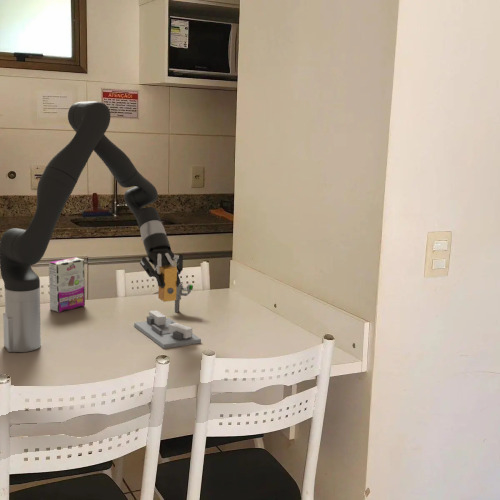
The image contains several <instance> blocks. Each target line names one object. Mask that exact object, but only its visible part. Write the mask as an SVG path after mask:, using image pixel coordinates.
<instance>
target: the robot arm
mask: <svg viewBox="0 0 500 500" xmlns="http://www.w3.org/2000/svg"><path fill="white" fill-rule="evenodd" d="M67 111H68V112H67V121H68V123H69V125H70V126H71V128H72V130H74V132H75V134H74V136H73V138H71V140H70V141H69V143H67V144H66V145H65V146H64V147H63V148H62V149H61V150H60V151H58V152H57V153H56V155H54V156H53V157H52V159H50V160H49V162H48V163H47V165H46V167H45V168H44V171H43V173H42V174H41V176H40V178H39V180H38V182H37V187H36V209H35V213H34V215H33V217H32V219H31V221H30V223H29V225H28V227H27V228H26V229H22V228H17V227H16V228H14V227H13V228H10V229H7V230H6V231H5V232H4V233H3V234H2V236H1V237H0V275H1V278H2V281H3V283H4V312H3V315H2V316H3V317H2V318H3V346H4V347H5V349H6V351H7V352H8V353H12V352H13V353H15V352H16V353H27V352H32V351H36V350H38V349H40V347H41V345H42V342H41V339H42V338H41V337H42V336H41V334H42V333H41V280H40V276H39V275H38V274H37V273H36V272H35V271H34V270H33V268H32V266H34V265H36V264H37V263H39V262H40V261H41V260H42V258H43V257H44V255H45V253H46V251H47V249H48V246H49V244H50V241H51V239H52V235H53V233H54V230H55V228H56V226H57V223H58V221H59V219H60V217H61V214H62V212H63V211H64V208H65V206H66V203H67V202H68V199H69V198H70V196H71V194H72V193H73V191H74V190H75V187H76V185H77V183H78V181H79V179H80V176H81V175H82V172H83V170H84V168H85V167H86V165H87V163H88V161H89V160H90V157H91V156H92V154H93V152H94V153H95V154H96V156H98V157H99V159H100V160H101V161H102V162H103V163H104V165H105V166H106V167H107V169H108V170H109V172H110V173H111V174H112V176H113V178H114V179H115V180H116V182H117V183H118V184H119V185H120V187H122V188H124V189H125V188H130V189H127V190H126V191H125V192H124V196H123V201H124V204H125V205H126V206H127V208H129V210H130V211H131V213H132V214H133V215H134V218H135V219H136V221H137V225H138V228H139V232H140V237H141V241H142V245H143V247H144V249H145V252H146V255H147V256H146V257H144V256H142V258H141V260H140V262H139V264H140V266H141V267H142V269H144V271H145V272H146V274H147V276H148V277H150V278H152V277H153V278H155V279H156V283H157V285H158V288H159V287H161V289H162V288H164V287H165V282H164V279H163V276H162V275H161V269H160V267H161V266H165V265H171V266H174V267H176V268H177V283H176V286H177V287H178V286H179V284H180V282H181V279H180V276H179V275H181V273H182V272H183V267H184V256H183V254H179V255H178V254H175V253H174V252H173V251H172V248H171V244H170V241H169V239H168V236H167V233H166V230H165V226H164V225H163V223H162V220H161V217H160V215H159V211H158V210H157V209H156V208H155V207H153V206H149V205H151V204H154V203H155V202H156V201H157V200H158V197H159V194H158V190H157V188H156V186H154V184H153V183H152V182H151V181H149V180H148V179H147V178H145V177H144V176H143V175H142V173H140V172H139V171H138V170H137V168H136V166H135V165H134V164H133V162H132V160H131V159H130V157H129V156H128V155H127V154H126V153H125V151H123V150H122V149H120V148H119V147H118V146H117V145H116V144H115V143H114V142H113V141H112V140H110V139H109V138H108V136H106V135H105V133H106V132H107V130H108V128H109V126H110V123H111V110H110V108H109V107H108V106H107V105H106V103H104V102H102V101H79V102H75V103H73V104H72V105H71V106H70V107H69V109H68V110H67ZM174 261H175V262H174ZM151 264H152V265H153V266H152V265H151Z"/></svg>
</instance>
